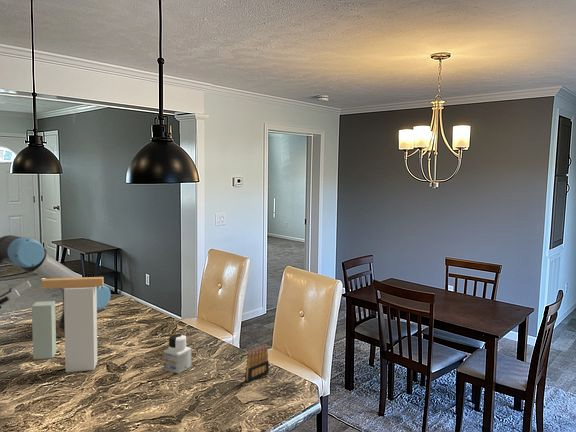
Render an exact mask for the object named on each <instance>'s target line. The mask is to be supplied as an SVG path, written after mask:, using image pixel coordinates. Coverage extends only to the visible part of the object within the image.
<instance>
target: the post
mask: <svg viewBox="0 0 576 432" xmlns="http://www.w3.org/2000/svg"><path fill="white" fill-rule="evenodd" d="M64 320H65V328H64V352H65V353H64V355H65V356H64V358H65V361H64V363H65V373H72V372H73V373H74V372H84V371H94V370H95V368H96V367H97V363H98V310H97V291H96V287H71V288H65V289H64Z"/></svg>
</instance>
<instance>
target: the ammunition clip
mask: <svg viewBox="0 0 576 432" xmlns="http://www.w3.org/2000/svg"><path fill="white" fill-rule="evenodd" d="M246 356H247V357H246V366H245V374H244V375H245V377H244V378H245V379H244V381H245V380H246V381H245V382H247V381H248V383H250V382H252V381H254V380H253V379H255V380H257V379H259V378H261V377H263V376H262V375H264V376H265V374H266V375H268V374H269V372H270V369H269V368H270V365H269V364H270V363H269V362H270V360H269V352H268V344H267V343H265V344H264V343H263V344H262V345H261V346H260V345H258V347H257V346H255V347H254V348H253V347H252V348H251V350H250V349H248V351H247V355H246ZM267 373H268V374H267ZM260 376H261V377H260ZM258 377H259V378H258ZM256 378H257V379H256ZM251 380H252V381H251ZM249 381H250V382H249Z"/></svg>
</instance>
